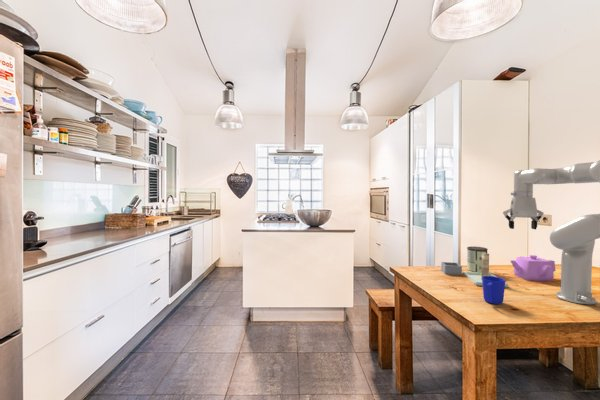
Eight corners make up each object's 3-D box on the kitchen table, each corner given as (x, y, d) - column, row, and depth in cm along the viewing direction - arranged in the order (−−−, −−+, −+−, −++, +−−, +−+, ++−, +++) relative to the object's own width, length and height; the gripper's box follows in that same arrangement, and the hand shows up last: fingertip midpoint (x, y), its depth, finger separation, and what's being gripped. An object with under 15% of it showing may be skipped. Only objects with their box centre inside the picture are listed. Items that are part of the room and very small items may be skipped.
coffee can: (474, 268, 175) (475, 245, 175) (491, 273, 166) (491, 248, 166) (462, 270, 172) (463, 247, 171) (479, 274, 162) (479, 250, 162)
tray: (508, 287, 140) (508, 284, 140) (476, 285, 143) (476, 282, 143) (491, 276, 159) (491, 273, 159) (463, 274, 162) (463, 271, 162)
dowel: (489, 281, 148) (490, 254, 148) (482, 280, 149) (483, 254, 148) (487, 279, 151) (487, 253, 151) (480, 279, 152) (480, 252, 152)
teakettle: (556, 278, 156) (556, 255, 155) (550, 284, 145) (550, 260, 144) (517, 271, 169) (518, 251, 168) (509, 277, 158) (509, 255, 157)
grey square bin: (461, 276, 159) (461, 266, 159) (445, 275, 161) (445, 265, 161) (457, 272, 168) (457, 262, 168) (441, 271, 170) (441, 261, 170)
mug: (476, 304, 119) (477, 280, 118) (484, 297, 127) (484, 274, 127) (500, 310, 113) (501, 285, 113) (506, 302, 121) (507, 278, 121)
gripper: (507, 194, 142) (506, 229, 142) (547, 194, 138) (547, 230, 138) (500, 194, 149) (499, 227, 149) (538, 194, 145) (538, 228, 145)
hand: (522, 228), depth 144 cm, fingers open, 9 cm apart
